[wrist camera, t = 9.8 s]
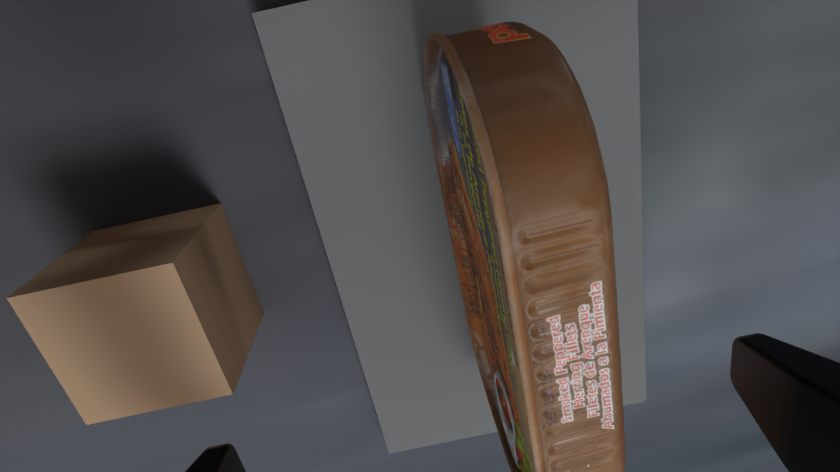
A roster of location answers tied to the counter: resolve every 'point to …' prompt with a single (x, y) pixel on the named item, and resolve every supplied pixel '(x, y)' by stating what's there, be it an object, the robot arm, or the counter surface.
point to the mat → (435, 185)
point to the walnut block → (145, 314)
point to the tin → (530, 243)
